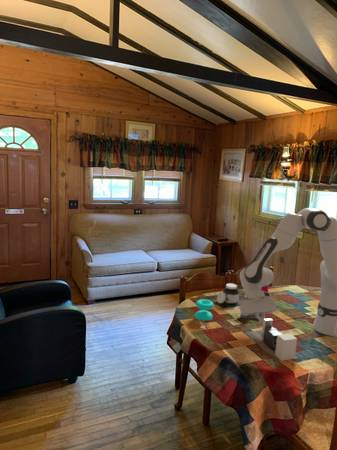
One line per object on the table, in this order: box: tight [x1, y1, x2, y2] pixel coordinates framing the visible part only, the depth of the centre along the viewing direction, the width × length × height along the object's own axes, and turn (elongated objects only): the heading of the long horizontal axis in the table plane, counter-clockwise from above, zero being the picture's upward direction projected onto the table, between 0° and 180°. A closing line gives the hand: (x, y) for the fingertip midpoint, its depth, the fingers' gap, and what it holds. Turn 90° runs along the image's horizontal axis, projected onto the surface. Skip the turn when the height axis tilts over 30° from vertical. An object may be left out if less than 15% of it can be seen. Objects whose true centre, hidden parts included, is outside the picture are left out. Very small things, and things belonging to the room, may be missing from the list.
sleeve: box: [263, 326, 283, 350], centre depth 168 cm, size 5×8×8 cm, turn 18°
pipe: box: [240, 313, 262, 320], centre depth 198 cm, size 6×13×8 cm, turn 78°
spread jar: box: [216, 283, 240, 306], centre depth 219 cm, size 12×11×12 cm
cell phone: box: [199, 323, 210, 331], centre depth 185 cm, size 9×18×1 cm, turn 68°
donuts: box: [194, 298, 215, 322], centre depth 195 cm, size 10×10×10 cm
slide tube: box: [261, 317, 277, 343], centre depth 165 cm, size 4×18×10 cm, turn 18°
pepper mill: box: [260, 285, 270, 293], centre depth 222 cm, size 7×7×20 cm
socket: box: [275, 333, 298, 362], centre depth 158 cm, size 7×5×10 cm
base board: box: [245, 329, 300, 362], centre depth 170 cm, size 13×28×1 cm, turn 18°
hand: (262, 321), depth 177 cm, fingers closed
